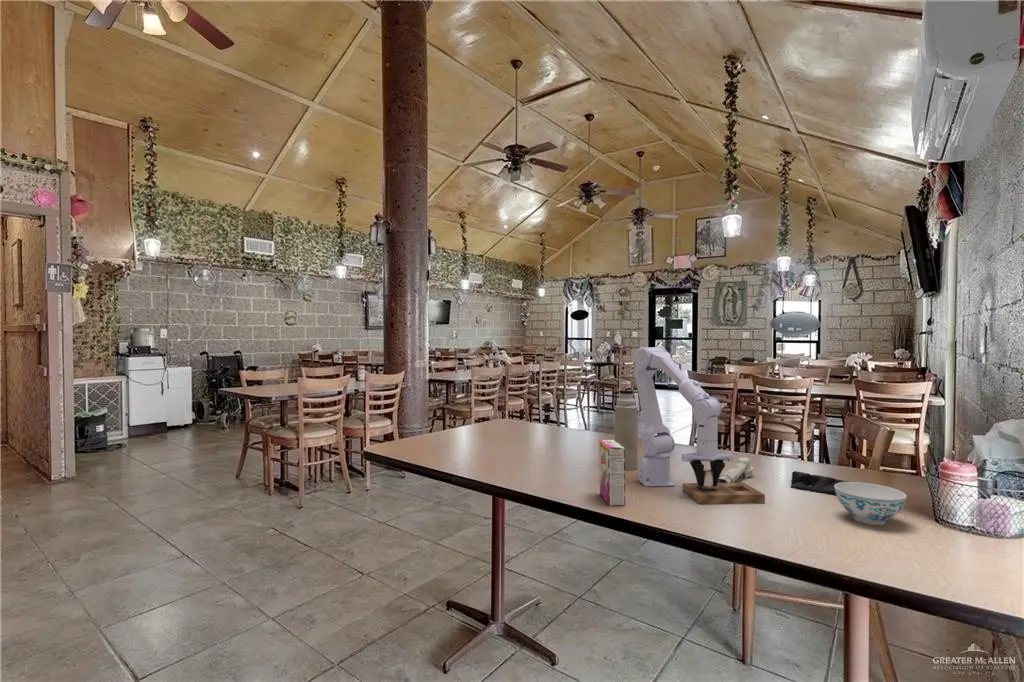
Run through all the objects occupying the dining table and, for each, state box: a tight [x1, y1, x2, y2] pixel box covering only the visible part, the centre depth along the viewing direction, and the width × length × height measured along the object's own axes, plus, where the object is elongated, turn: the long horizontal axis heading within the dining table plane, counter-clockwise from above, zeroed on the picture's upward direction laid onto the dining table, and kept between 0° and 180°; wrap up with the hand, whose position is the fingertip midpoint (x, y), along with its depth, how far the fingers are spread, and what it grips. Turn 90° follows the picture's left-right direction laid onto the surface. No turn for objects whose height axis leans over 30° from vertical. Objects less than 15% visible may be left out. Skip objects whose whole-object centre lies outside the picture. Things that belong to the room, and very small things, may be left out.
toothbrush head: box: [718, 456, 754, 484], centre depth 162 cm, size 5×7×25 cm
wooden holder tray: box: [681, 481, 766, 505], centre depth 146 cm, size 19×12×2 cm, turn 92°
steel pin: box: [701, 468, 714, 491], centre depth 146 cm, size 4×4×8 cm
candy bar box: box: [598, 439, 626, 507], centre depth 144 cm, size 11×5×16 cm, turn 4°
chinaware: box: [834, 481, 907, 526], centre depth 128 cm, size 15×15×8 cm
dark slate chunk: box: [790, 470, 850, 495], centre depth 154 cm, size 15×22×5 cm
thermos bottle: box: [614, 389, 638, 471], centre depth 181 cm, size 8×8×28 cm
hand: (707, 485), depth 146 cm, fingers closed on steel pin, 4 cm apart
